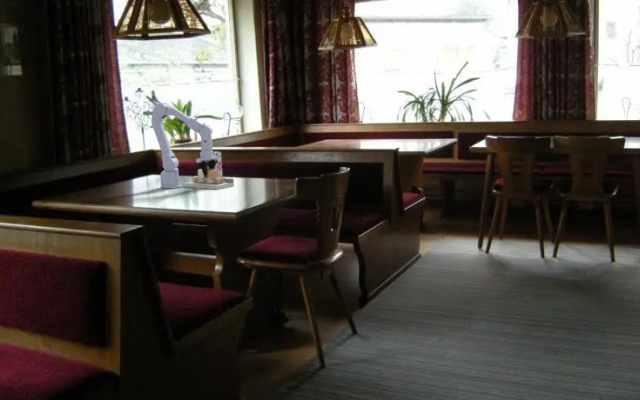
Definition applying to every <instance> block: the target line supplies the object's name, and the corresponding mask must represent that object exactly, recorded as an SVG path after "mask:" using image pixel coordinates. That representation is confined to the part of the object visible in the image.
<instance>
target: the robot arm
mask: <svg viewBox="0 0 640 400" xmlns="http://www.w3.org/2000/svg"><path fill="white" fill-rule="evenodd" d="M167 116H173V117H175V118H177V119H178V120H181V121H182V122H184V123H185V124H186V126H187V127H188V128H189V129H190V130H193V131H194V132H195V133H197V134H199V136H200V149H201V150H200V152H202V158H200V157H199V158H196V159H195V160H196V163H198V165H199V167H200V169H202V172H203V175H205V176H207V173H208V167H209V168H212V169H213V170H214V168H215V165H216V163H217V161H215V160H219V159H218V156H213V152H214V151H213V139H212V138H213V137H212V134H213V128H212V127H211V126H210V125H209V124H208V125H207V124H206V123H205V122H201V120H199V119H198V117H189V116H188V115H186V114H184V113H183V112H182V111H180V110H179V109H177V108H176V107H174V106H172V105H170V104H168V103H166V102H163V103H157V104H156V105H154V108H153V109H152V116H151V120H150V121H151V126H152V128H153V131H154V133H155V137H156V140H157V142H158V145H159V149H160V151H161V152H160V153H161V154H162V155H161V159H162V168H163V169H164V170H162V171H161V172H160V186H159V188H160V189H161V188H163V189H177V188H182V187H183V186H184V185H182V184H181V185H180V177H179V175H180V174H179V168H178V167H179V166H180V165H179V164H180V162H179V159H178V158H177V157H176V155H175V153H174V152H173V151H172V147H171V144H170V142H169V139H168V136H167V133H166V131H165V126H164V124H163V122H164V120H165V119H166V117H167ZM208 159H211V160H208ZM206 161H207V162H206Z"/></svg>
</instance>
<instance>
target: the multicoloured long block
mask: <svg viewBox="0 0 640 400" xmlns="http://www.w3.org/2000/svg"><path fill="white" fill-rule="evenodd" d="M208 170H213V169H212V168H208ZM225 178H226V177H219V178H208V173H207V176H205V175H204V178H200V177H198V175H197V176H193V177H192V182H202V183H216V184H219V183H224V182H225Z"/></svg>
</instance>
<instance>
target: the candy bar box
mask: <svg viewBox="0 0 640 400" xmlns="http://www.w3.org/2000/svg"><path fill="white" fill-rule="evenodd" d="M213 156H218V159H219V160H215V161H217V163H216V165H215V168H214V170H219V177H223V166H222V165H223V161H222V151H213ZM199 158H202V151H200V152H199ZM208 160H211V159H208ZM206 162H207V161H206ZM208 168H209V167H208ZM223 178H224V177H223Z"/></svg>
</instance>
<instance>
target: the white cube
mask: <svg viewBox="0 0 640 400" xmlns="http://www.w3.org/2000/svg"><path fill="white" fill-rule="evenodd" d="M197 176H198V177H200V178H204V175H203V172H202V169H201V168H199V169H197Z"/></svg>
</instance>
